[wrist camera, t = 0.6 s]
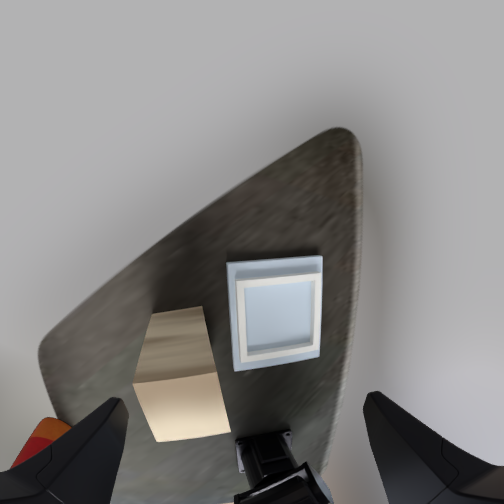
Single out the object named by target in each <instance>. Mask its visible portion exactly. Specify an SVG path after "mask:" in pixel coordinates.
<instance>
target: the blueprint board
mask: <svg viewBox="0 0 504 504" xmlns="http://www.w3.org/2000/svg"><path fill="white" fill-rule="evenodd" d="M226 266H227V284H228V301H229V316H230V331H231V345H232V358H233V368H234V371H242V370H249V369H256V368H262V367H268V366H274V365H280V364H286V363H291V362H296V361H301V360H306V359H311V358H316V357H319V352H320V334H321V310H322V256H320V255H313V256H301V257H288V258H275V259H263V260H249V261H236V262H226Z"/></svg>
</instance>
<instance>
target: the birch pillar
mask: <svg viewBox="0 0 504 504" xmlns="http://www.w3.org/2000/svg"><path fill="white" fill-rule="evenodd" d="M133 386H134V389H135V392H136V394H137V397H138V399H139V402H140V404H141V407H142V409H143V412H144V414H145V416H146V419H147V421H148V423H149V425H150V428H151V430H152V432H153V434H154V436H155V439H156V441H157V442H164V441H174V440H182V439H190V438H197V437H204V436H210V435H216V434H222V433H227V432H231V430H230V426H229V422H228V418H227V414H226V410H225V406H224V401H223V397H222V393H221V389H220V384H219V380H218V375H217V371H216V367H215V362H214V358H213V354H212V350H211V345H210V341H209V336H208V332H207V327H206V323H205V318H204V313H203V308H202V306H199V307H193V308H187V309H181V310H174V311H168V312H161V313H155V314H152V316H151V319H150V322H149V326H148V329H147V332H146V336H145V339H144V343H143V346H142V350H141V353H140V357H139V361H138V364H137V368H136V372H135V376H134V380H133Z"/></svg>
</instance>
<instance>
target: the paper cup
mask: <svg viewBox="0 0 504 504" xmlns="http://www.w3.org/2000/svg"><path fill="white" fill-rule="evenodd" d="M71 428H72V427H71V426H69V425H68V424H66V423H65V422H63V421H61V420H59V419H56V418H51V417H47V418H44V419H43V420H42V421H41V422H40V423H39V424H38V426H37V427H36V429H35V430H34V431H33V433H32V434H31V436H30V437H29V439H28V441H27V442H26V444H25V446H24V447H23V448H22V450H21V451H20V453H19V455H18V456H17V458H16V460H15V461H14V463H13V465H12V466H11V468H13V467H15V466H16V465H18V464H20V463H22V462H24V461H25V460H27V459H29V458H30V457H32V456H34V455H35V454H37V453H38V452H40V451H41V450H43V449H44V448H46V447H47V446H48V445H50V444H52V442H54V441H55V440H56V439H58V438H59V437H60V436H62V435H63V434H64V433H66V432H67V431H68V430H69V429H71ZM11 468H10V469H11Z"/></svg>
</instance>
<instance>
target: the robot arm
mask: <svg viewBox="0 0 504 504" xmlns="http://www.w3.org/2000/svg"><path fill="white" fill-rule="evenodd" d="M363 413H364V418H365V423H366V427H367V432H368V436H369V442H370V446H371V449H372V452H373V455H374V458H375V461H376V464H377V466H378V470H379V473H380V476H381V479H382V482H383V485H384V488H385V491H386V495H387V497H388V501H389V504H504V466H496V465H492V464H490V463H487V462H485V461H483V460H481V459H479V458H477V457H475V456H473V455H471V454H469V453H467V452H466V451H464V450H462V449H460V448H458V447H457V446H455V445H454V444H452V443H451V442H449V441H448V440H446V439H445V438H442V436H440V435H439V434H437V433H436V432H435V431H433V430H432V429H431V428H429V427H428V426H426V425H425V424H423V423H422V422H421V421H419V420H418V419H417V418H415V417H414V416H412V415H411V414H410V413H408V412H407V411H405V410H404V409H403V408H401V407H400V406H398V405H397V404H396V403H395V402H393V401H392V400H390V399H389V398H388V397H386V396H385V395H384V394H382V393H381V392H379V391H374V392H370V393H368V394H367V397H366V400H365V403H364V406H363ZM128 419H129V413H128V410H127V408H126V406H125V404H124V402H123V400H122V399H121V398H116V397H111V398H109V399H108V400H107V401H106V402H104V403H103V404H102V405H101V406H99V407H98V408H97V409H95V410H94V411H93V412H92V413H90V414H89V415H88V416H86V417H85V418H84V419H83V420H81V421H80V422H79V423H77V424H76V425H75V426H73V427H72V428H71V429H69V430H68V431H67V432H66V433H64V434H63V435H62V436H60V437H59V438H58V439H56V440H55V441H54V442H52V444H50V445H48V446H47V447H46V448H44V449H43V450H41V451H40V452H38V453H37V454H35V455H34V456H32V457H30V458H29V459H27V460H25V461H24V462H22V463H20V464H18V465H16V466H15V467H13V468H11V469H9V470H7V471H4V472H0V504H110V501H111V496H112V492H113V488H114V484H115V480H116V476H117V472H118V468H119V465H120V461H121V457H122V454H123V449H124V444H125V437H126V431H127V425H128ZM287 433H288V434H287ZM240 442H241V443H240ZM235 445H236V453H237V462H238V469H239V472H240V473H246V476H247V479H248V482H249V485H250V488H251V490H249V491H246V492H244V493H241V494H237V495H234V504H334V502H333V499H332V495H331V492H330V489H329V488H328V487H327V485H326V483H325V482H324V481H323V479H322V477H321V476H320V475H319V474H318V473H317V472H316V471H315V470H314V469H313V468H312V467H311V465H310V464H309V463H308V462H307V461H306V462H305V463H303V464H302V465H301V466H298V464H297V462H296V460H295V459H294V457H293V455H292V453H291V445H292V432H291V430H289V429H287V430H283V431H278V432H274V433H269V434H264V435H258V436H253V437H247V438H240V439H237V440H236V441H235Z"/></svg>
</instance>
